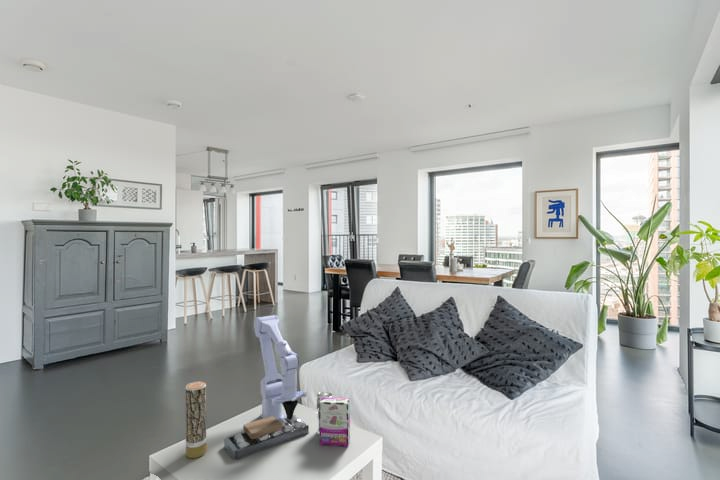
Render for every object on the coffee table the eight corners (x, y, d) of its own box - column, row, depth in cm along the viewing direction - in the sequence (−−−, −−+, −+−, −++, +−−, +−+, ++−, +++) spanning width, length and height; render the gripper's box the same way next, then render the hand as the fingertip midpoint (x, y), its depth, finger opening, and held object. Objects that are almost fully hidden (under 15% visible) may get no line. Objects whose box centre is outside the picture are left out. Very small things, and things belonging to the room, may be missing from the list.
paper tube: (198, 460, 131) (198, 389, 131) (181, 458, 132) (181, 388, 132) (210, 449, 138) (210, 382, 138) (193, 447, 139) (193, 380, 139)
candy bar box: (350, 440, 144) (350, 397, 144) (348, 447, 139) (348, 403, 139) (322, 438, 146) (322, 396, 146) (319, 445, 141) (319, 402, 141)
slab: (243, 429, 143) (243, 424, 143) (272, 420, 151) (272, 415, 151) (252, 439, 136) (252, 434, 136) (282, 429, 144) (282, 424, 144)
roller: (237, 447, 141) (230, 441, 140) (245, 437, 143) (238, 431, 141) (244, 456, 135) (237, 451, 133) (252, 446, 137) (245, 441, 135)
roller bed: (223, 446, 140) (223, 434, 140) (294, 422, 158) (294, 411, 158) (234, 460, 131) (234, 448, 131) (308, 433, 150) (308, 422, 150)
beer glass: (334, 428, 153) (334, 391, 153) (331, 437, 147) (331, 399, 146) (317, 427, 154) (317, 391, 154) (314, 436, 147) (314, 398, 147)
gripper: (277, 392, 143) (277, 427, 143) (310, 383, 152) (310, 416, 152) (269, 386, 148) (269, 420, 148) (301, 378, 157) (301, 410, 157)
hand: (289, 418), depth 151 cm, fingers closed
